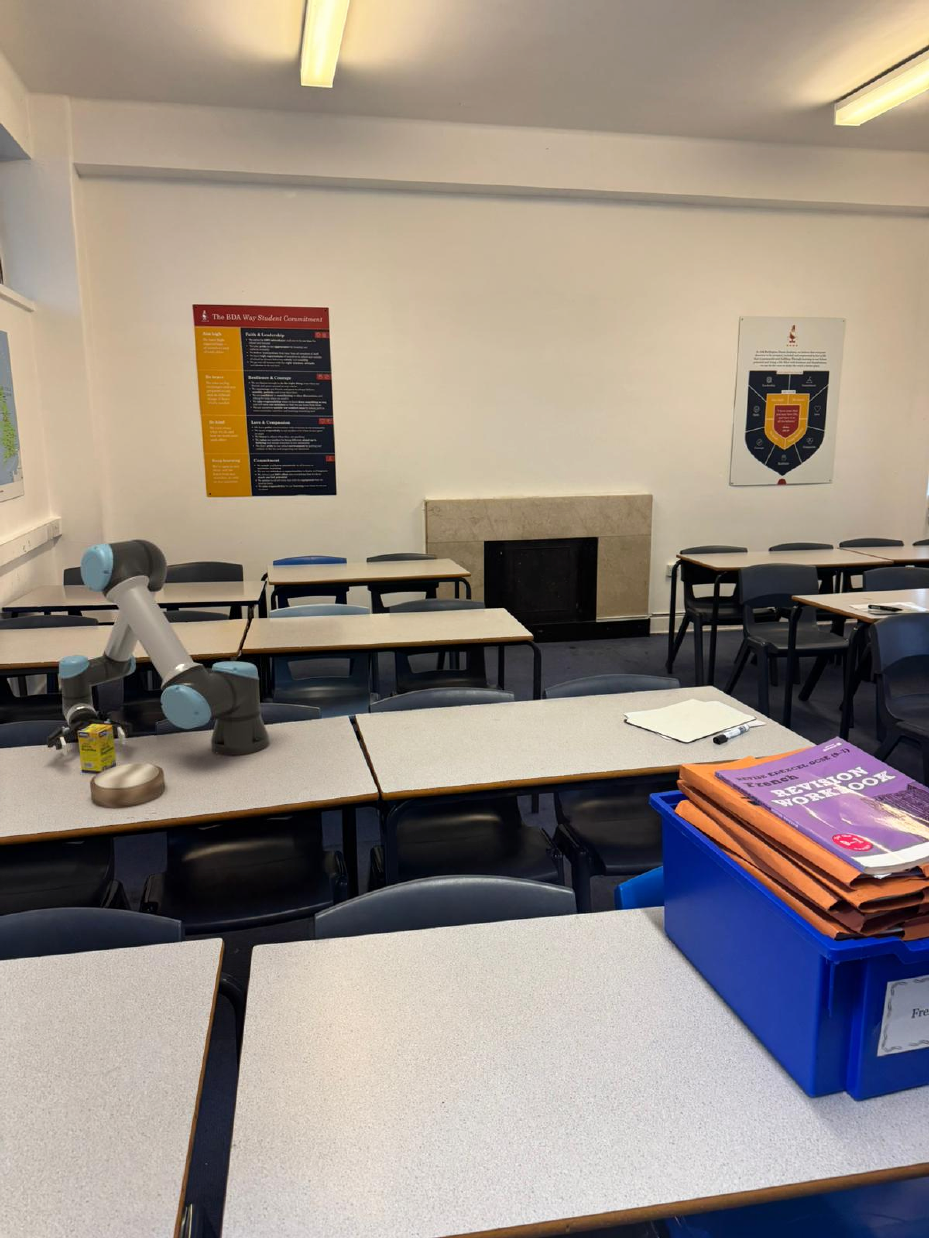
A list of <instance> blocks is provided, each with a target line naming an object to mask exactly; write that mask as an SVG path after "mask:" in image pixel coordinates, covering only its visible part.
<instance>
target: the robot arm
mask: <svg viewBox="0 0 929 1238" xmlns="http://www.w3.org/2000/svg"><path fill="white" fill-rule="evenodd" d="M167 574H168V565H167V560H166V557H165V554H164V553H163V551H162V550H161V549H160V548H159V546H157V545H156V544H155V543H153V542H151V541H149V540H145V539H140V538H139V539H132V540H125V541H117V542H111V543H110V542H109V543H106V542H104V543H101V544H97V545H93V546H90V547H88V548H87V549H86V550H85V551H84V553H83V555H82V557H81V561H80V576H81V579H82V581H83V584H84V586H85V587H86V588H87V589H88V590H89V591H92V592H95V593H99V592H101V593H102V595H103V596H104V598H105V600H106V601H107V602H108V603H111V604H115V605H116V606H117V607H118V612H117V615H116V618H115V621H114V624H113V626H112V629H111V631H110V634H109V638H108V640H107V643H106V646H105V648H104V650H103V653H102V655H101V656H98V657H93V658H90V659H88V656H86V655H81V654H77V655H69V656H65V657H62V658H60V660H59V664H58V676H59V678H60V687H61V692H62V694H61V695H62V697H61V699H62V715H63V716H64V718H65V720H66V722H67V724H68V727H65V726H63V725H58V726H57V728H56V729H55V730H54V731H53V732H52V733H51V734H49V736H47V737H46V745H47V748H48V749H51V748H53V747H54V746H55V750H56V751H60V750H61V751H62V754H63V756H68V750H67V743H70V742H71V741H73V740H78V731H80V730H82V729H84V728H86V727H88V726H90V725H92V724H101V725H112V728H113V736H114V735H115V736H117V738H118V739H119V741H120V743H121V745H126V744H127V743H126V738H128V734H129V735H130V734H132V733H133V728H132V723H130V722H126V721H123V720H119V719H116V718H114V717H108V719H107V720H106V721H104V720H101V719H100V717H99V715H98V713H97V711H96V710H95V708H94V703H93V694H92V687H94V686H96V685H100V684H103V683H107V682H110V681H114V680H118V679H123V678H125V677H126V676H129V675H131V674H132V673H134V672H135V670H136V667H137V665H136V658H135V656H134V650H135V648H136V646H137V644H138V641H139V643H140V645H141V646H142V648H143V650H144V651H145V653H146V655H147V656H148V658H149V660H150V661H151V663H152V664H153V666H154V668H155V669H156V671H157V672H158V674H159V675H160V677H161V679H162V682H161V686H160V689H161V691H162V694H161V696H160V703H161V704H162V705H161V707H160V708H161V709H162V712H163V714H164V716H165V717H166V719H167V720H168V721H169V722H170V723H171V724H172V725H174V726H176V727H178V728H180V729H181V728H182V729H184V730H190V729H194V728H196V727H197V728H198V727H202V726H205V725H206V724H207V723H210V722H212V721H215V724H214V727H213V730H212V735H211V738H210V748H211V751H212V752H214V753H216V754H218V755H225V756H241V755H248V754H253V753H256V752H258V751H259V752H260V751H261V750H263V749H265V748H267V746H268V745H269V744H270V742H269V738H270V737H269V733H268V731H267V728H266V725H265V723H264V721H263V719H262V716H261V702H260V701H261V699H260V697H261V696H260V677H259V674H258V673H259V672H258V668H257V666H256V665H255V664H253V663H251V662H245V661H220V662H216V663H214V664H212V668H211V671H212V672H211V673H209V672H208V671H207V670H206V667H205V666H204V665H203V664H202V663H197V662H194V661H193V659H192V657H191V656H190V654H189V652H188V651H187V649H186V647H185V646H184V645H183V643H182V641H181V639H180V638H179V636H178V635H177V633H176V632H175V629H174V628H173V626H172V625H171V623H170V622H169V620H168V619H167V617H166V615H165V614H164V612H163V611H162V609H161V607H160V605H159V604H158V603H157V601H156V599H155V597H156V594H157V593H158V592H160V591H162V589H163V586H164V584H165V581H166V579H167Z"/></svg>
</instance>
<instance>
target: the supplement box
mask: <svg viewBox="0 0 929 1238" xmlns="http://www.w3.org/2000/svg"><path fill="white" fill-rule="evenodd" d="M77 740H78V745H79V746H78V747H79V749H78V750H79V756H80V758H79V759H80V765H81V766H80V767H81V772H82V773H85V774H97V773H101V772H103V771H105V770H107V769H110V768H113V767H116V766H117V761H116V750H115V740H114V735H113V728H112V725H101V724H92V725H90V726H88V727H86V728H84V729H82V730H80V731H78V739H77Z"/></svg>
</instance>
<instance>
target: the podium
mask: <svg viewBox="0 0 929 1238" xmlns="http://www.w3.org/2000/svg"><path fill="white" fill-rule="evenodd" d="M164 773H165V772H164V770H163V768H162V767H160V766H158V765H155V764H150V763H149V764H148V763H128V764H122V765H121V764H120V765H116V766H114V767H112V768H110V769H107V770H105V771H103V772H101V773H99V774H97V773H96V775H94V776H93V777H92V778H91V779H90V782H89V787H90V788H89V789H90V796H91V802H92V803H93V804H94V805H96V806H98V807H101V808H107V809H108V808H111V809H120V808H130V807H135V806H139V805H143V804H145V803H148V802H152V801H153V800H155V799H158V797H160V796H161V795H162V794H163V793H164V792H165V790H166V785H165V784H166V783H165V774H164Z"/></svg>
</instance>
